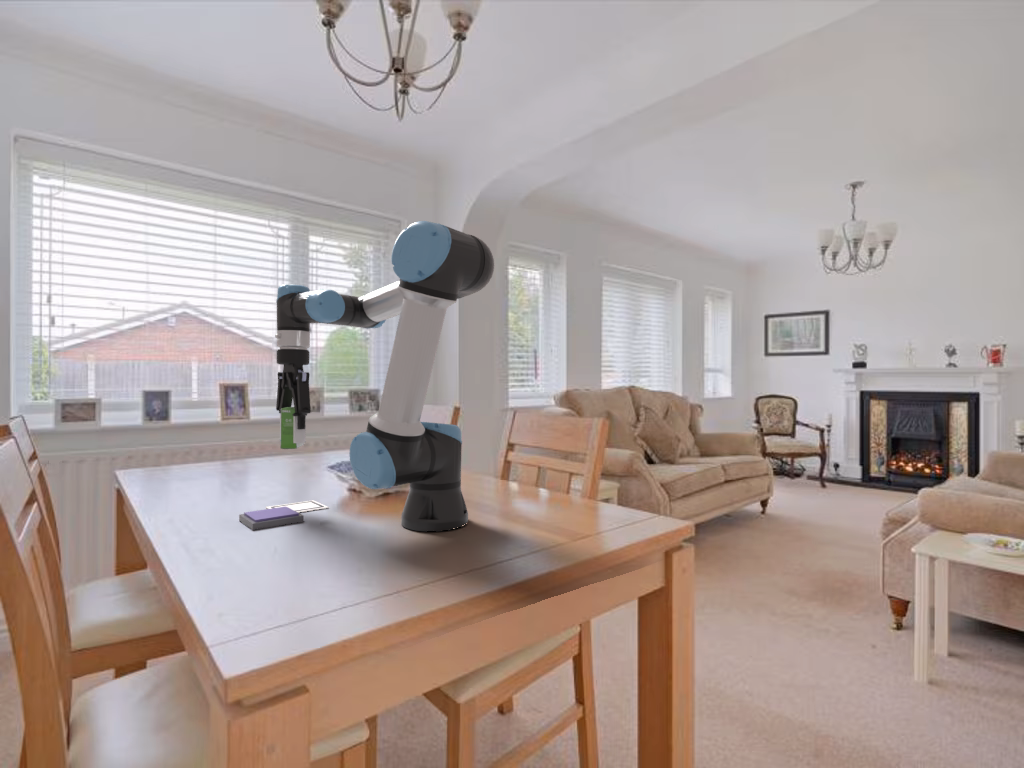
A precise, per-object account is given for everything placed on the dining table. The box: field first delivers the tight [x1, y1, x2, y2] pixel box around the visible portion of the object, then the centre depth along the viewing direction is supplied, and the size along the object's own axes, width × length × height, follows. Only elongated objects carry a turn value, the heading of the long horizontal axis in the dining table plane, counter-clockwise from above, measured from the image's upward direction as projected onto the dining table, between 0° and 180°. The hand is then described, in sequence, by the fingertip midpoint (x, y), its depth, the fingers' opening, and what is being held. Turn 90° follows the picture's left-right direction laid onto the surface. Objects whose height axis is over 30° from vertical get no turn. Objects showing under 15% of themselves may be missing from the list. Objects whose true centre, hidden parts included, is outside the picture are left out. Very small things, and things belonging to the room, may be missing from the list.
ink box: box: [279, 406, 305, 450], centre depth 134 cm, size 7×4×13 cm, turn 7°
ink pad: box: [238, 507, 305, 531], centre depth 125 cm, size 10×11×2 cm
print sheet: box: [265, 499, 330, 514], centre depth 137 cm, size 10×12×1 cm
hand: (292, 441), depth 134 cm, fingers closed on ink box, 8 cm apart
